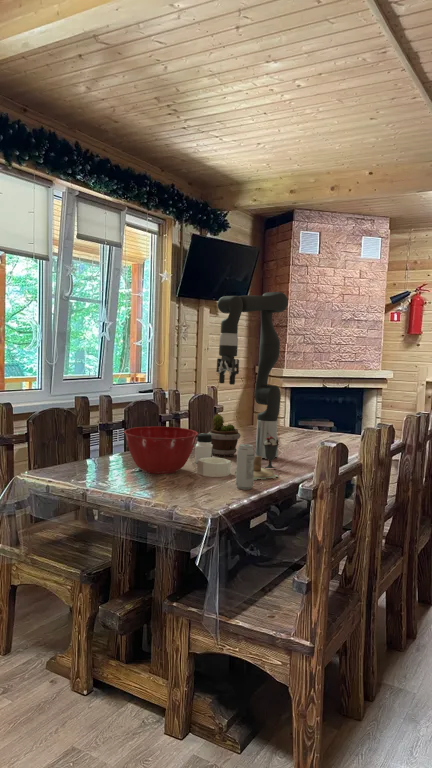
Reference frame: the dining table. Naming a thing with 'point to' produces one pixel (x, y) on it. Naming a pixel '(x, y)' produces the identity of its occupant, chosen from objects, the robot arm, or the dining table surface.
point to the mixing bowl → (160, 448)
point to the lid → (261, 469)
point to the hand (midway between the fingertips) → (226, 383)
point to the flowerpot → (223, 438)
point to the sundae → (270, 450)
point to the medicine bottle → (203, 447)
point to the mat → (264, 477)
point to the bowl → (214, 467)
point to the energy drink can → (245, 466)
